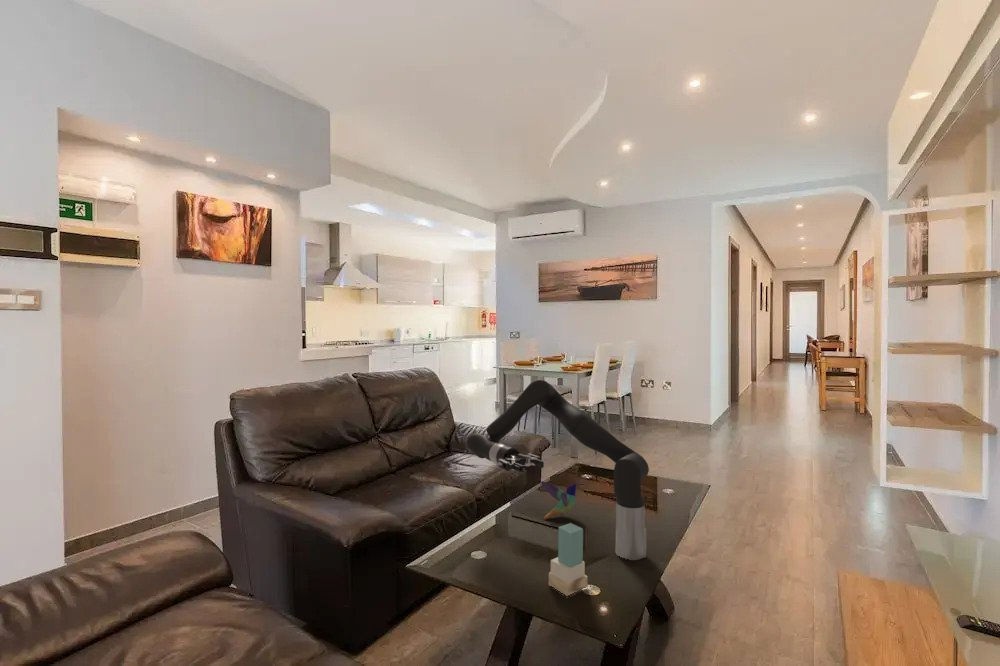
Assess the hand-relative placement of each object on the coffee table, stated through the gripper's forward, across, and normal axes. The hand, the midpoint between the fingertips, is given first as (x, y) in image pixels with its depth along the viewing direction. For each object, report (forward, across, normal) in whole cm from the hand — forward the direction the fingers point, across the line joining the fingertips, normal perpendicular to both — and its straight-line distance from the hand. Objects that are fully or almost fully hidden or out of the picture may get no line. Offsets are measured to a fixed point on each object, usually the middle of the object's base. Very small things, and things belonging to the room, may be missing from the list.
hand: (532, 467), depth 162 cm
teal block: (+21, -2, +22) cm, 31 cm away
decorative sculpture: (-19, +32, +30) cm, 48 cm away
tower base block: (+20, -3, +30) cm, 36 cm away
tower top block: (+20, -3, +26) cm, 33 cm away
